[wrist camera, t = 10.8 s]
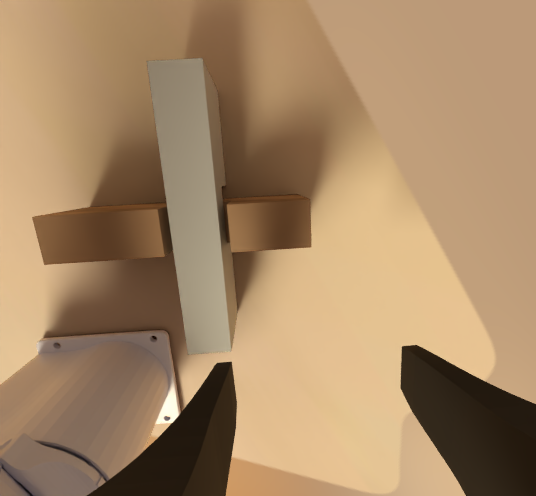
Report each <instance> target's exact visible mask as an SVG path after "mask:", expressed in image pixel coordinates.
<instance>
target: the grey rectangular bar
mask: <svg viewBox="0 0 536 496" xmlns="http://www.w3.org/2000/svg"><path fill="white" fill-rule="evenodd" d="M147 67H148V74H149V81H150V88H151V95H152V102H153V110H154V117H155V124H156V131H157V138H158V145H159V152H160V159H161V167H162V174H163V181H164V188H165V195H166V202H167V209H168V217H169V224H170V231H171V238H172V245H173V252H174V259H175V266H176V274H177V281H178V288H179V295H180V302H181V309H182V316H183V323H184V331H185V338H186V345H187V352H188V355H190V354H204V353H218V352H231V351H232V345H233V338H234V332H235V325H236V319H237V313H238V311H237V300H236V289H235V278H234V267H233V256H232V252H231V245H230V243H227V240H226V229H225V219H224V208H223V198H222V187H221V186H226V178H225V167H224V156H223V145H222V134H221V123H220V111H219V100H218V90H217V88H216V86H215V84H214V82H213V80H212V78H211V76H210V73H209V71H208V69H207V67H206V65H205V63H204V61H203V59H202V58H194V59H175V60H156V61H147Z"/></svg>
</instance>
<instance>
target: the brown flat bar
mask: <svg viewBox="0 0 536 496" xmlns="http://www.w3.org/2000/svg"><path fill="white" fill-rule="evenodd" d="M223 208H224V219H225V229H226V240H227V243H230V245H231V252H246V251H261V250H277V249H292V248H307V247H311V212H310V199H308V198H305V197H303V196H300V195H298V194H294V195H278V196H261V197H245V198H229V199H223ZM32 218H33V222H34V226H35V230H36V234H37V238H38V242H39V246H40V250H41V253H42V257H43V261H44V265H47V264H62V263H78V262H93V261H108V260H124V259H139V258H154V257H165V256H166V255H167V254H169V253H170V252H171V251H172V250H173V245H172V238H171V231H170V224H169V217H168V209H167V202H165V203H149V204H133V205H117V206H101V207H88V208H82V209H76V210H70V211H64V212H58V213H53V214H47V215H41V216H35V217H32Z"/></svg>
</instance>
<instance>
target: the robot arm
mask: <svg viewBox="0 0 536 496" xmlns="http://www.w3.org/2000/svg"><path fill="white" fill-rule="evenodd" d="M152 336H155V337H157V339H153V338H152ZM57 343H59V344H60V345H61V346H59V345H58V344H57ZM36 345H37V350H38V355H37V356H36V357H35V358H33V359H32V360H31V361H30V362H28V363H27V364H26V365H25V366H23V367H22V368H21V369H20V370H18V371H17V372H16V373H15V374H13V375H12V376H11V377H10V378H8V379H7V380H6V381H5V382H3V383H2V384H1V385H0V496H225V495H226V488H227V482H228V474H229V468H230V462H231V456H232V449H233V443H234V436H235V429H236V411H237V401H236V393H235V385H234V377H233V369H232V362H223V363H217V364H216V365H215V366H214V368H213V369H212V371H211V372H210V374H209V375H208V377H207V378H206V380H205V381H204V383H203V384H202V386H201V387H200V389H199V390H198V391H197V393H196V394H195V395H194V397H193V398H192V400H191V401H190V402H189V403H188V405H187V406H186V407H185V408H184V410H183V411H182V412H181V411H180V404H179V398H178V392H177V385H176V379H175V373H174V366H173V360H172V354H171V347H170V341H169V335H168V333H167V332H166V331H164V330H153V331H138V332H124V333H110V334H95V335H81V336H67V337H52V338H43V339H41V340H40V341H39V342H37V344H36ZM401 390H402V392H403V394H404V396H405V398H406V400H407V402H408V404H409V406H410V408H411V410H412V412H413V413H414V415H415V416H416V418H417V419H418V421H419V423H420V424H421V426H422V427H423V429H424V430H425V432H426V433H427V435H428V436H429V438H430V439H431V441H432V442H433V444H434V445H435V447H436V448H437V450H438V451H439V453H440V454H441V456H442V457H443V458H444V460H445V462H446V463H447V465H448V466H449V468H450V469H451V471H452V472H453V474H454V476H455V477H456V479H457V480H458V482H459V484H460V486H461V487H462V489H463V491H464V493H465V495H466V496H536V404H534V403H532V402H529V401H526V400H524V399H522V398H520V397H517V396H515V395H513V394H510V393H508V392H506V391H504V390H502V389H499V388H497V387H495V386H493V385H491V384H489V383H487V382H485V381H483V380H481V379H479V378H477V377H475V376H473V375H471V374H469V373H468V372H466V371H464V370H462V369H460V368H458V367H456V366H455V365H453V364H451V363H449V362H447V361H446V360H444V359H442V358H440V357H438V356H437V355H435V354H433V353H431V352H429V351H427V350H425V349H424V348H422V347H419V346H417V345H412V346H402V362H401ZM166 415H167V416H170V417H167V416H166ZM161 423H172V424H171V425H170V426H169V427H168V428H167V429H166V430H165V431H164V432H163V433H162V434H161V435H160V437H159V438H158V439H156V440H155V441H154V442H153V443H152V444H151V445H150V446H149V447H148V448H147V449H146V450H145V447H146V445H147V443H148V440H149V438H150V435H151V433H152V431H153V428H154V426H155V424H161Z"/></svg>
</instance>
